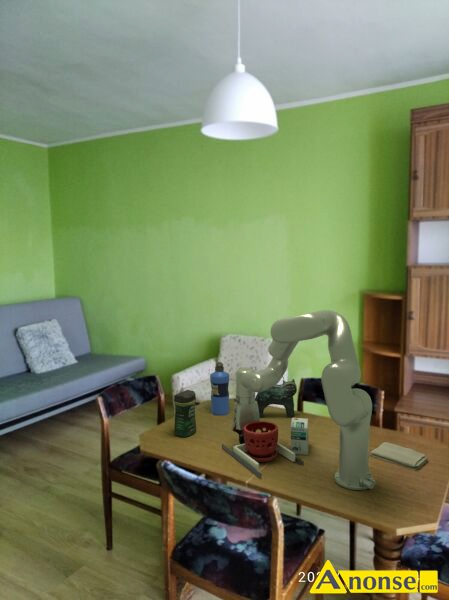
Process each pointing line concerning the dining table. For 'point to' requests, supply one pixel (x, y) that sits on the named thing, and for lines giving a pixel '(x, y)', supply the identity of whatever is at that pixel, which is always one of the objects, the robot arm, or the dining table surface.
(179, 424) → the coffee jar
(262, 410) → the ceramic cat
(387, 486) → the dining table surface
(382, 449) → the washcloth
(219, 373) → the water bottle
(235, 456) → the lane rails
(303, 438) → the light bulb box
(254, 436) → the plant pot
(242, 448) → the white u-shaped frame
